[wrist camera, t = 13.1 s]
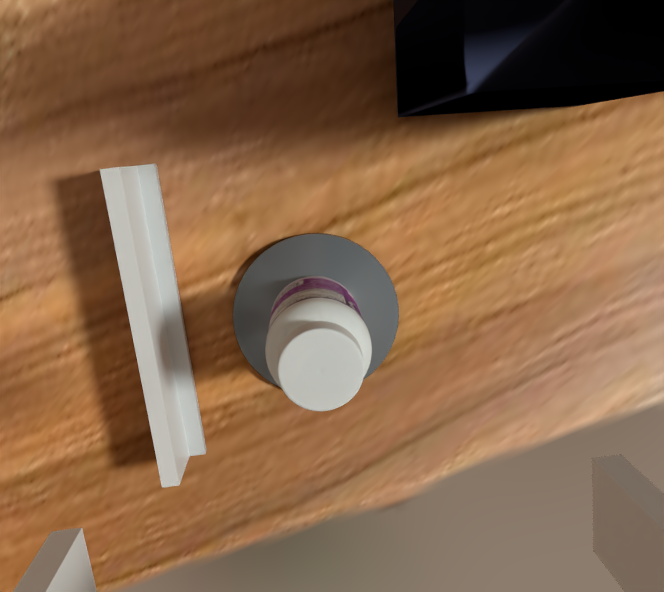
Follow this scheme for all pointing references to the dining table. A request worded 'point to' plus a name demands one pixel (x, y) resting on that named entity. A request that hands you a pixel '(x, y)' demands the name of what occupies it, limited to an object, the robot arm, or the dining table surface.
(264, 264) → the coaster
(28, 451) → the dining table surface
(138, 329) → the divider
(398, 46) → the vase
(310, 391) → the pill bottle
